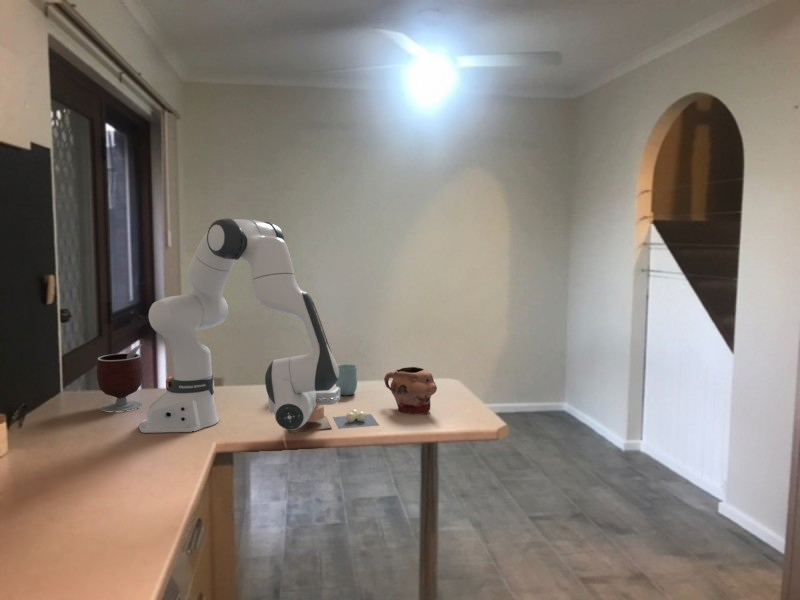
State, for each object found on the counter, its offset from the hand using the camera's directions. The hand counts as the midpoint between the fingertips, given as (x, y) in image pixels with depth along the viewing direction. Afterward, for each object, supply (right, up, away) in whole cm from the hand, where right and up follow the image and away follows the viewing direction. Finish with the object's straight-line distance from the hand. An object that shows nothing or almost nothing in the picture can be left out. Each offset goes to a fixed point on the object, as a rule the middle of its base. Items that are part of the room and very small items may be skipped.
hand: (308, 388), depth 186 cm
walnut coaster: (0, -11, 0) cm, 11 cm away
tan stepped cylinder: (0, -8, 0) cm, 8 cm away
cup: (+8, -8, +38) cm, 40 cm away
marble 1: (+13, -10, +5) cm, 17 cm away
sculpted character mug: (+30, -10, +16) cm, 35 cm away
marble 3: (+15, -10, +3) cm, 19 cm away
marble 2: (+12, -10, +2) cm, 16 cm away
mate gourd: (-65, -10, +23) cm, 69 cm away
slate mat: (+14, -11, +4) cm, 18 cm away
